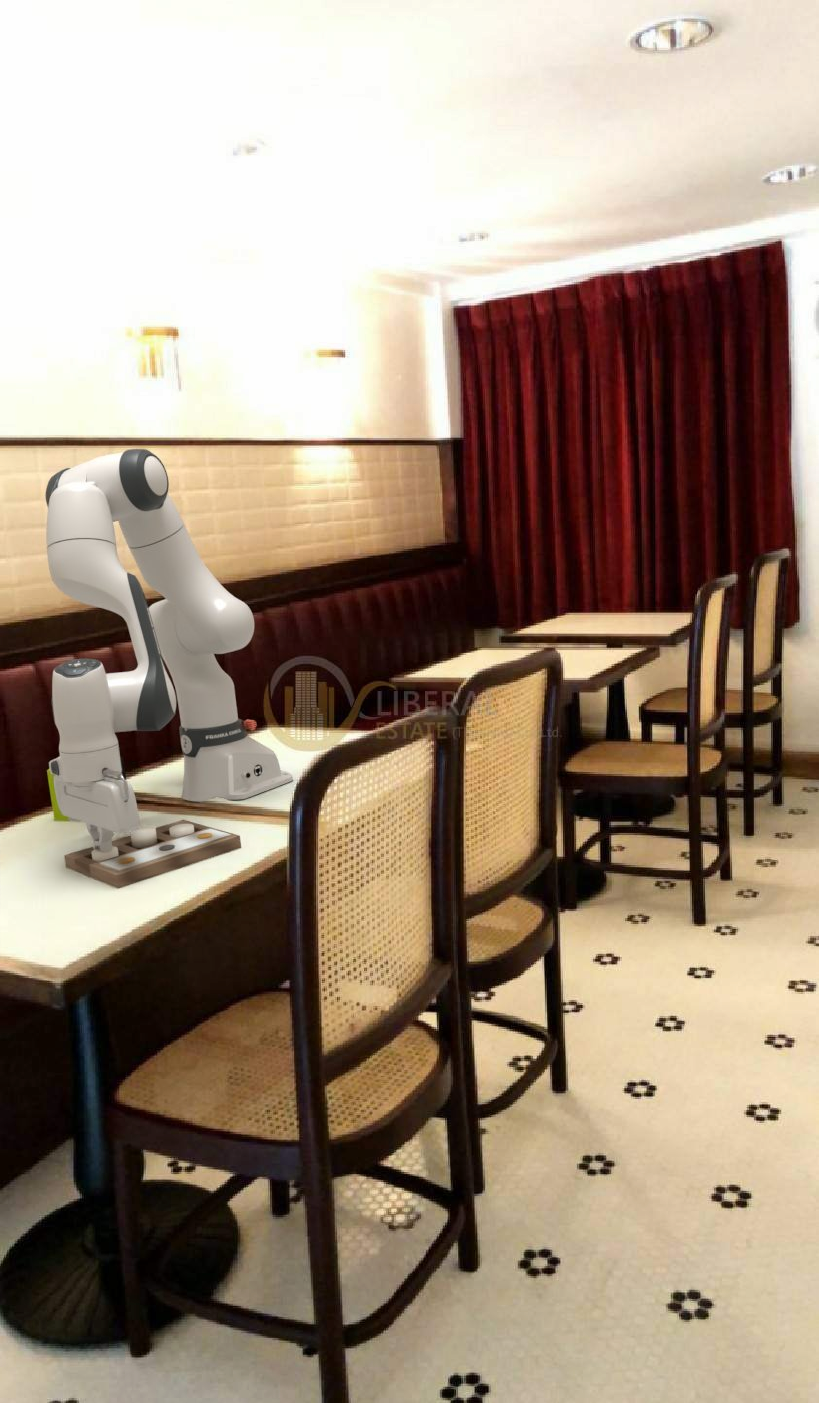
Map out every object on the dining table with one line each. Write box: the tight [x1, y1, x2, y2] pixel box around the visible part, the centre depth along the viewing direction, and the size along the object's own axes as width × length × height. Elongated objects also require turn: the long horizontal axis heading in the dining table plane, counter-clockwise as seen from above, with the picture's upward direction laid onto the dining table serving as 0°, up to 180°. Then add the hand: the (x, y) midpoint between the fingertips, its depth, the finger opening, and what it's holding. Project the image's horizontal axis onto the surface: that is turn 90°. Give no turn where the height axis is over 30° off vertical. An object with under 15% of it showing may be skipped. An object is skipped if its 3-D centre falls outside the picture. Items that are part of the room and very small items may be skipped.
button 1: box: [91, 846, 119, 862], centre depth 171 cm, size 4×4×2 cm
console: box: [63, 819, 242, 889], centre depth 174 cm, size 22×17×4 cm
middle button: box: [129, 825, 157, 848], centre depth 176 cm, size 4×4×2 cm
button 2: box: [169, 824, 194, 838], centre depth 181 cm, size 4×4×2 cm
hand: (103, 850), depth 171 cm, fingers closed, pressing on button 1
